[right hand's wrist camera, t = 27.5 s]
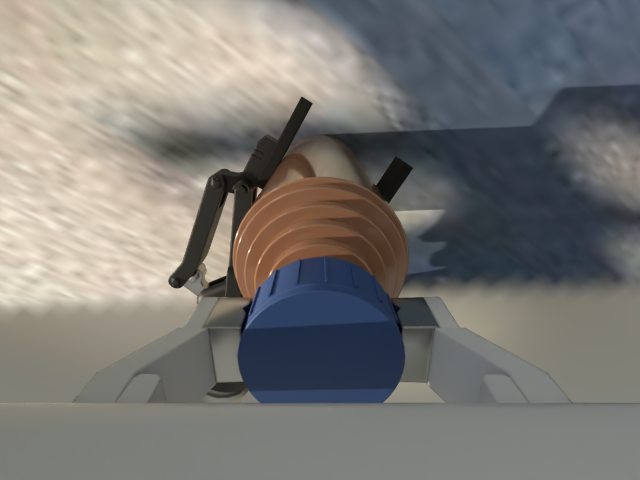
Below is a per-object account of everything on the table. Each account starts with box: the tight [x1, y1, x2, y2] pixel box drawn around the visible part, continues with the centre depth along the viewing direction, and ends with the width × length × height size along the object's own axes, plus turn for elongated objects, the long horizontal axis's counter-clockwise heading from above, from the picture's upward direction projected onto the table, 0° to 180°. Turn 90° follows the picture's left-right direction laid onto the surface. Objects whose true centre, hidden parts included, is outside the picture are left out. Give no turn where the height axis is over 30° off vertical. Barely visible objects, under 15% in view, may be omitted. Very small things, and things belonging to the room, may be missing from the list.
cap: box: [238, 256, 405, 403], centre depth 9 cm, size 4×4×2 cm
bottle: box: [233, 135, 409, 300], centre depth 20 cm, size 7×7×23 cm
